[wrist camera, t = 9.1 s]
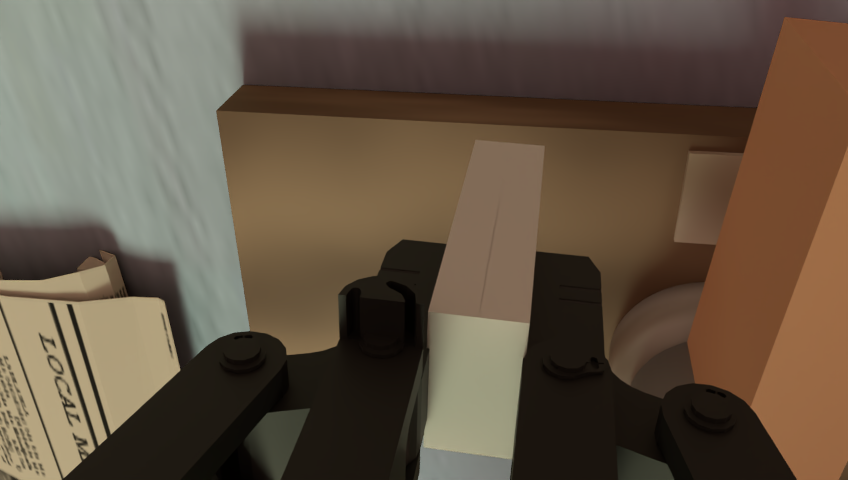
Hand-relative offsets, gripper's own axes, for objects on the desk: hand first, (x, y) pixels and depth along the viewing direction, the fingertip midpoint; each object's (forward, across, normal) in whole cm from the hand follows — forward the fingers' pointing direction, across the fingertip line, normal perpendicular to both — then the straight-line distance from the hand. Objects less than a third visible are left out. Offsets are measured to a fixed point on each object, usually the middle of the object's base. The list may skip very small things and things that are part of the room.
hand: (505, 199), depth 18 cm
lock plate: (+9, +2, -7) cm, 12 cm away
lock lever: (+4, +7, -4) cm, 9 cm away
